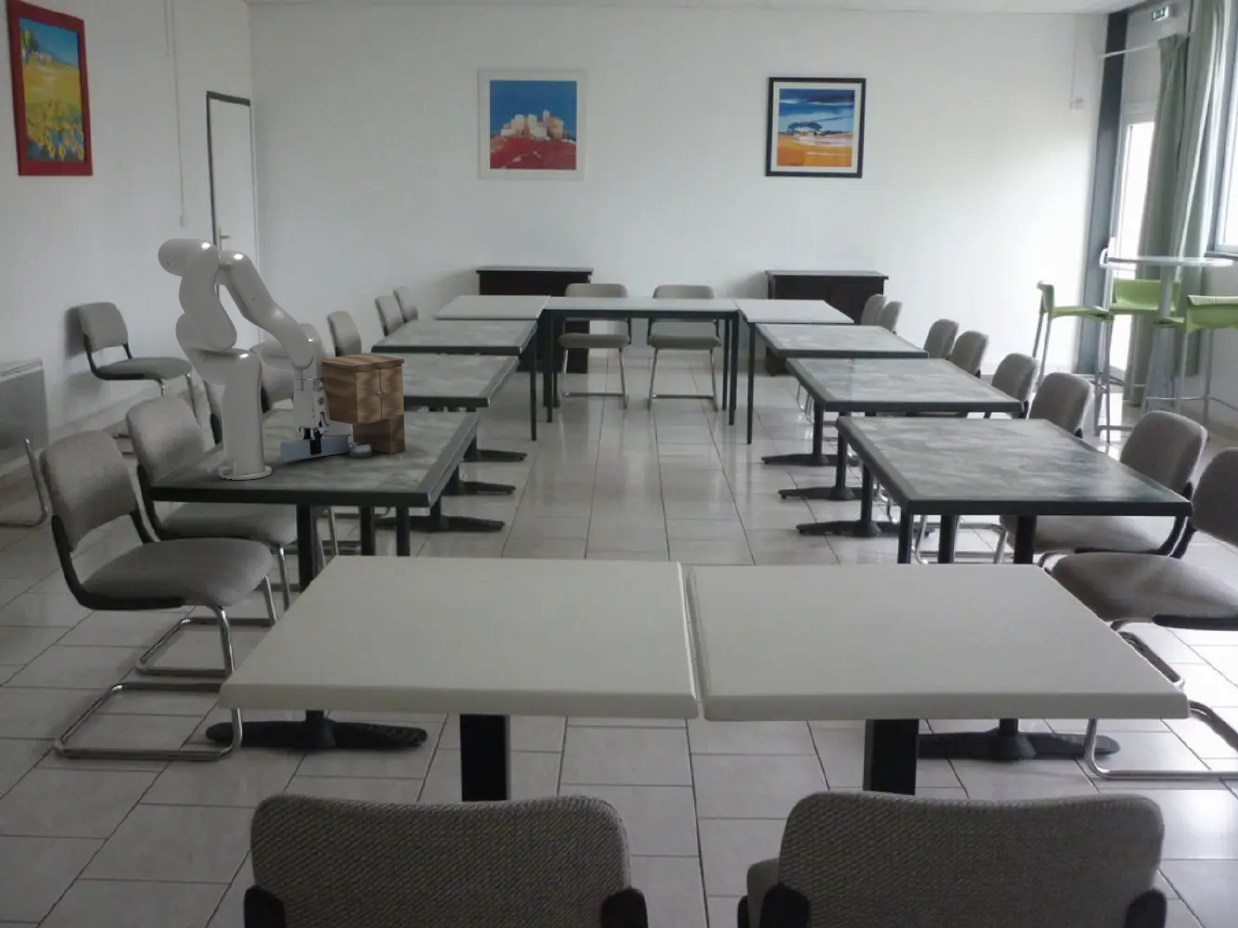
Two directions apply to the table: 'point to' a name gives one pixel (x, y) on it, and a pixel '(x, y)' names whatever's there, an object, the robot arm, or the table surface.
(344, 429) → the can
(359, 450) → the puck
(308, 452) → the slat
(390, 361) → the cabinet
